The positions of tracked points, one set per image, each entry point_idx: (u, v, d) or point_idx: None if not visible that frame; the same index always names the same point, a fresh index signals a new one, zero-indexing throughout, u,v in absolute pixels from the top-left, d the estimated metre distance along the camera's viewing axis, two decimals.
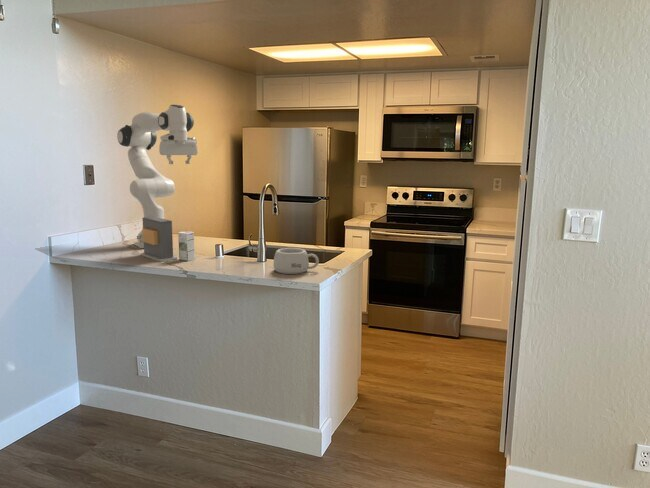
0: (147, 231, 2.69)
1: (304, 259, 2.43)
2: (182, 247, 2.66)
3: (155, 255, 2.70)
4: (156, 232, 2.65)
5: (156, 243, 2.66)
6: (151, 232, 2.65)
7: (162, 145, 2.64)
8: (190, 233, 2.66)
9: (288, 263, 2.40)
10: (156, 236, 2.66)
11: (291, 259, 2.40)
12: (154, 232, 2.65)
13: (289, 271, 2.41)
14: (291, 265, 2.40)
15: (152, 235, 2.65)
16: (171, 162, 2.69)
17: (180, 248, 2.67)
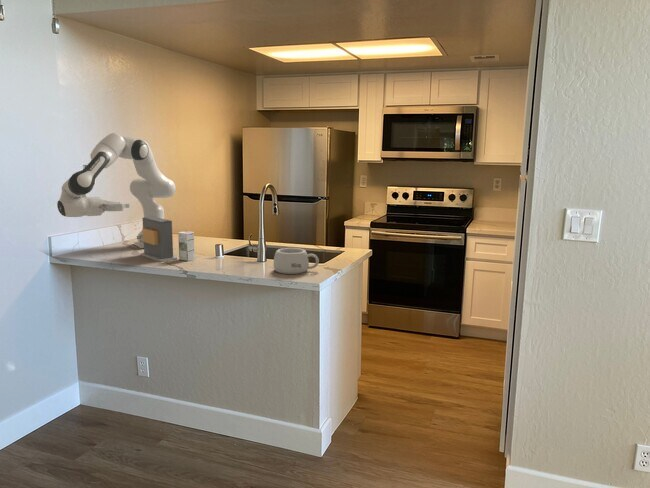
0: (147, 231, 2.69)
1: (304, 259, 2.43)
2: (182, 247, 2.66)
3: (155, 255, 2.70)
4: (156, 232, 2.65)
5: (156, 243, 2.66)
6: (151, 232, 2.65)
7: None
8: (190, 233, 2.66)
9: (288, 263, 2.40)
10: (156, 236, 2.66)
11: (291, 259, 2.40)
12: (154, 232, 2.65)
13: (289, 271, 2.41)
14: (291, 265, 2.40)
15: (152, 235, 2.65)
16: None
17: (180, 248, 2.67)
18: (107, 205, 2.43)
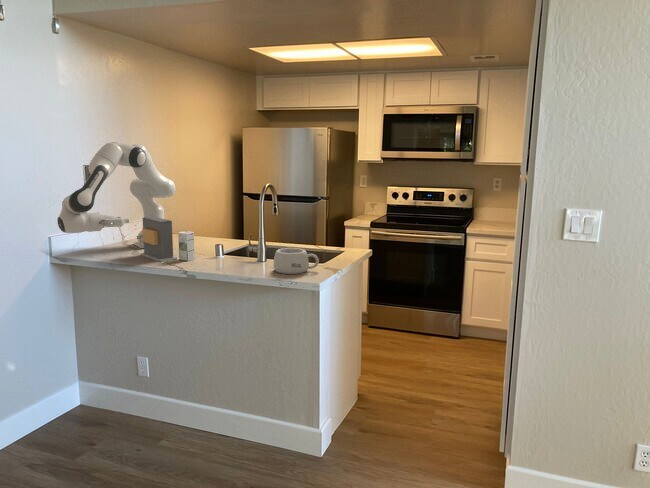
0: (147, 231, 2.69)
1: (304, 259, 2.43)
2: (182, 247, 2.66)
3: (155, 255, 2.70)
4: (156, 232, 2.65)
5: (156, 243, 2.66)
6: (151, 232, 2.65)
7: None
8: (190, 233, 2.66)
9: (288, 263, 2.40)
10: (156, 236, 2.66)
11: (291, 259, 2.40)
12: (154, 232, 2.65)
13: (289, 271, 2.41)
14: (291, 265, 2.40)
15: (152, 235, 2.65)
16: None
17: (180, 248, 2.67)
18: (107, 221, 2.44)
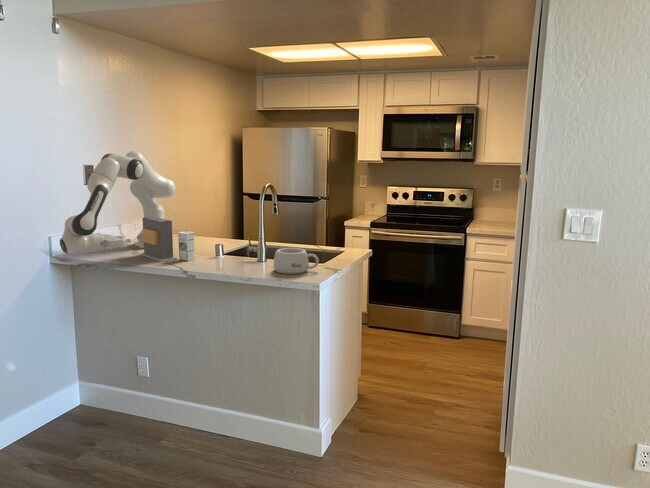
0: (147, 231, 2.69)
1: (304, 259, 2.43)
2: (182, 247, 2.66)
3: (155, 255, 2.70)
4: (156, 232, 2.65)
5: (156, 243, 2.66)
6: (151, 232, 2.65)
7: None
8: (190, 233, 2.66)
9: (288, 263, 2.40)
10: (156, 236, 2.66)
11: (291, 259, 2.40)
12: (154, 232, 2.65)
13: (289, 271, 2.41)
14: (291, 265, 2.40)
15: (152, 235, 2.65)
16: None
17: (180, 248, 2.67)
18: (108, 242, 2.47)
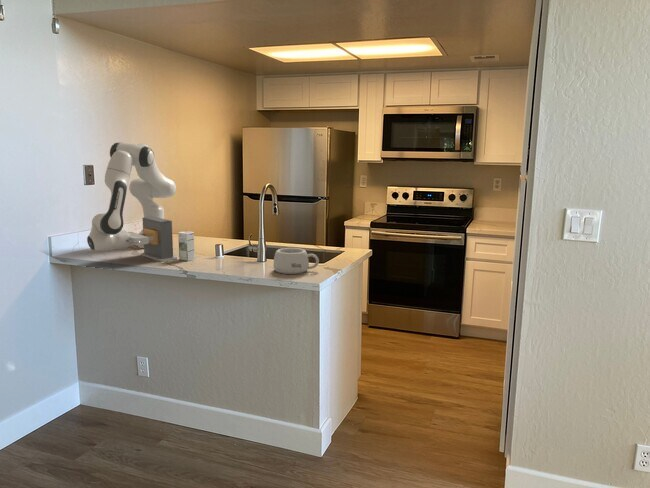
0: (148, 231, 2.69)
1: (304, 259, 2.43)
2: (182, 247, 2.66)
3: (155, 255, 2.70)
4: (157, 232, 2.66)
5: (157, 243, 2.67)
6: (153, 232, 2.66)
7: None
8: (190, 233, 2.66)
9: (288, 263, 2.40)
10: (157, 236, 2.66)
11: (291, 259, 2.40)
12: (155, 232, 2.65)
13: (289, 271, 2.41)
14: (291, 265, 2.40)
15: (153, 235, 2.66)
16: None
17: (180, 248, 2.67)
18: (134, 239, 2.55)
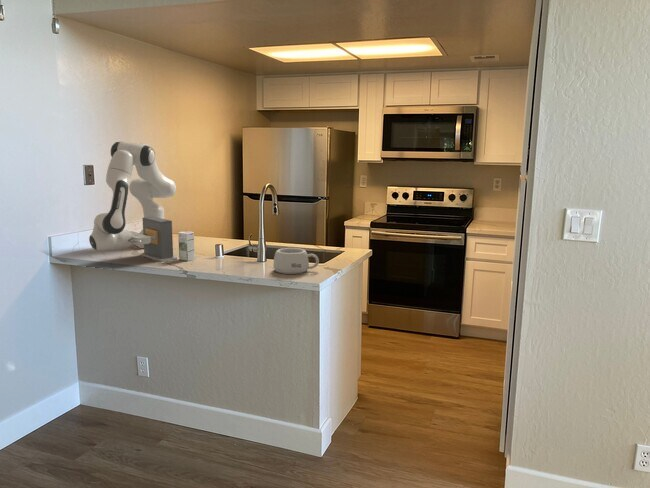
0: (150, 231, 2.70)
1: (304, 259, 2.43)
2: (182, 247, 2.66)
3: (155, 255, 2.70)
4: None
5: None
6: (154, 232, 2.67)
7: None
8: (190, 233, 2.66)
9: (288, 263, 2.40)
10: None
11: (291, 259, 2.40)
12: (157, 232, 2.66)
13: (289, 271, 2.41)
14: (291, 265, 2.40)
15: (155, 235, 2.66)
16: None
17: (180, 248, 2.67)
18: (136, 239, 2.56)
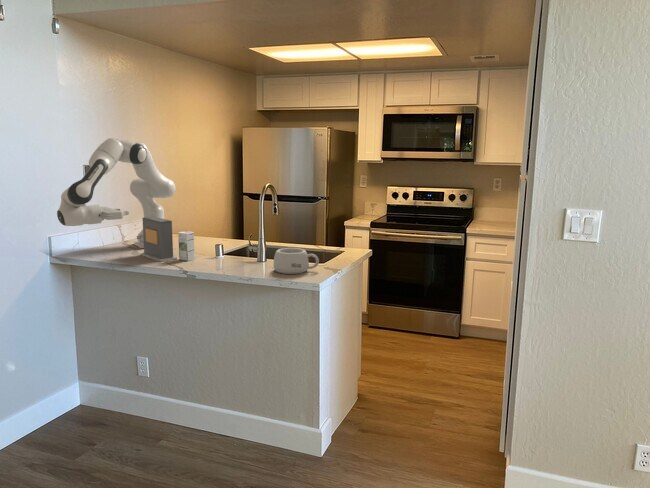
0: (150, 231, 2.70)
1: (304, 259, 2.43)
2: (182, 247, 2.66)
3: (155, 255, 2.70)
4: None
5: None
6: (154, 232, 2.67)
7: None
8: (190, 233, 2.66)
9: (288, 263, 2.40)
10: None
11: (291, 259, 2.40)
12: (157, 232, 2.66)
13: (289, 271, 2.41)
14: (291, 265, 2.40)
15: (155, 235, 2.66)
16: None
17: (180, 248, 2.67)
18: (106, 214, 2.44)
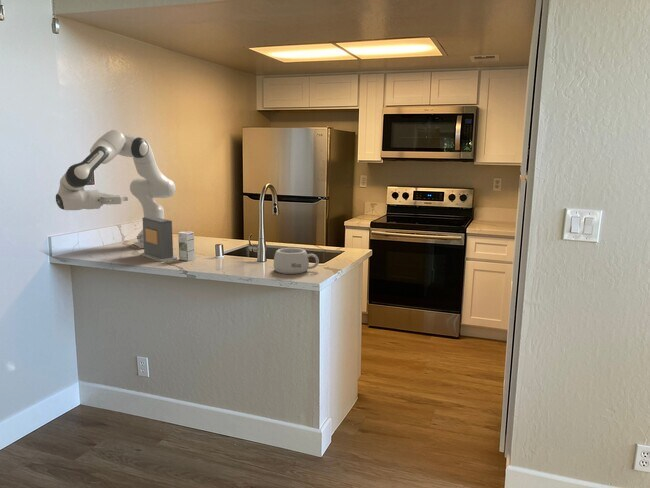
0: (150, 231, 2.70)
1: (304, 259, 2.43)
2: (182, 247, 2.66)
3: (155, 255, 2.70)
4: None
5: None
6: (154, 232, 2.67)
7: None
8: (190, 233, 2.66)
9: (288, 263, 2.40)
10: None
11: (291, 259, 2.40)
12: (157, 232, 2.66)
13: (289, 271, 2.41)
14: (291, 265, 2.40)
15: (155, 235, 2.66)
16: None
17: (180, 248, 2.67)
18: (105, 198, 2.43)
